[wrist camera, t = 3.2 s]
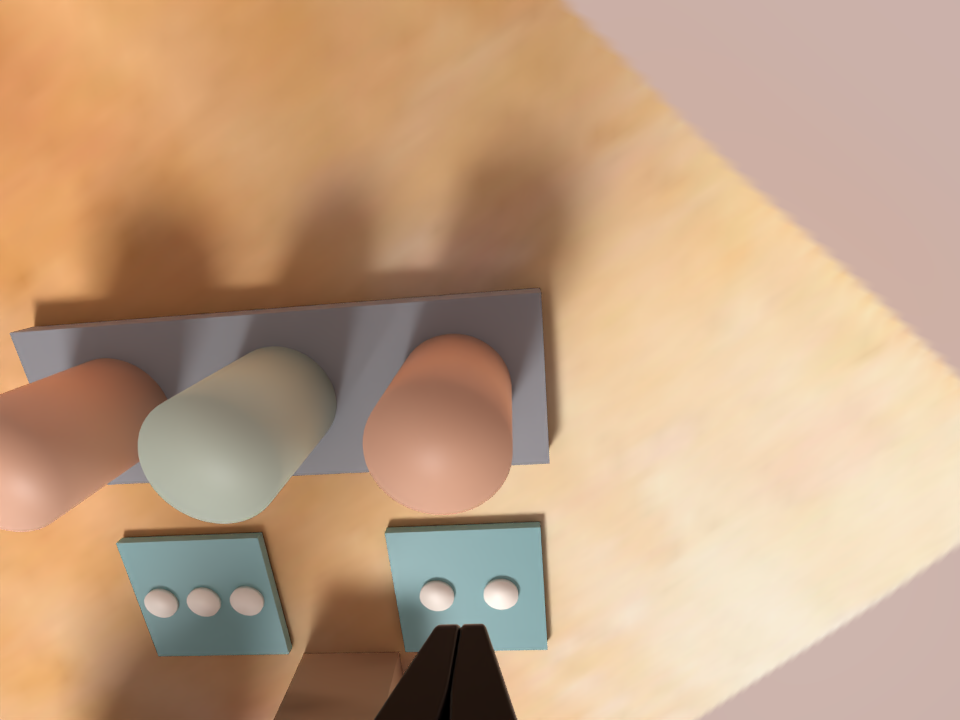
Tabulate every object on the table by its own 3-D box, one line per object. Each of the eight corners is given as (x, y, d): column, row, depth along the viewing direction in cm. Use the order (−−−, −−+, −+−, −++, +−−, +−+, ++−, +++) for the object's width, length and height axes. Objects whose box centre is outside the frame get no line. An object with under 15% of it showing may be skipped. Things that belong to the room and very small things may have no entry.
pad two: (546, 642, 24) (547, 653, 23) (407, 645, 24) (404, 655, 24) (540, 521, 22) (540, 530, 21) (386, 527, 22) (383, 536, 22)
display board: (547, 451, 21) (562, 546, 15) (88, 474, 22) (-56, 567, 17) (539, 287, 18) (553, 325, 13) (33, 326, 20) (-155, 375, 14)
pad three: (292, 647, 25) (287, 657, 24) (163, 649, 25) (155, 659, 25) (261, 532, 23) (255, 540, 22) (122, 537, 23) (112, 546, 23)
